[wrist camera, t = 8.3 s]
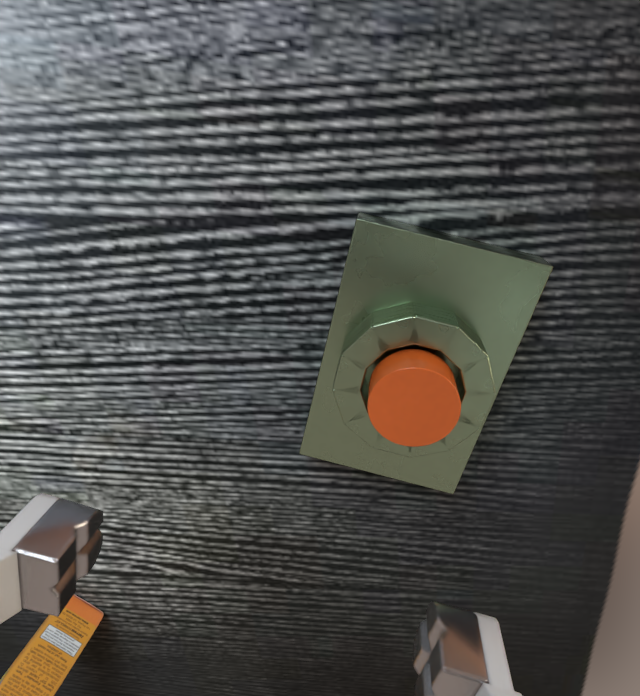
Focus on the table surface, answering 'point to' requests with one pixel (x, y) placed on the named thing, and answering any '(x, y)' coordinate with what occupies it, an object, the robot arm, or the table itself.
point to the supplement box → (52, 651)
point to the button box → (419, 341)
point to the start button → (413, 398)
